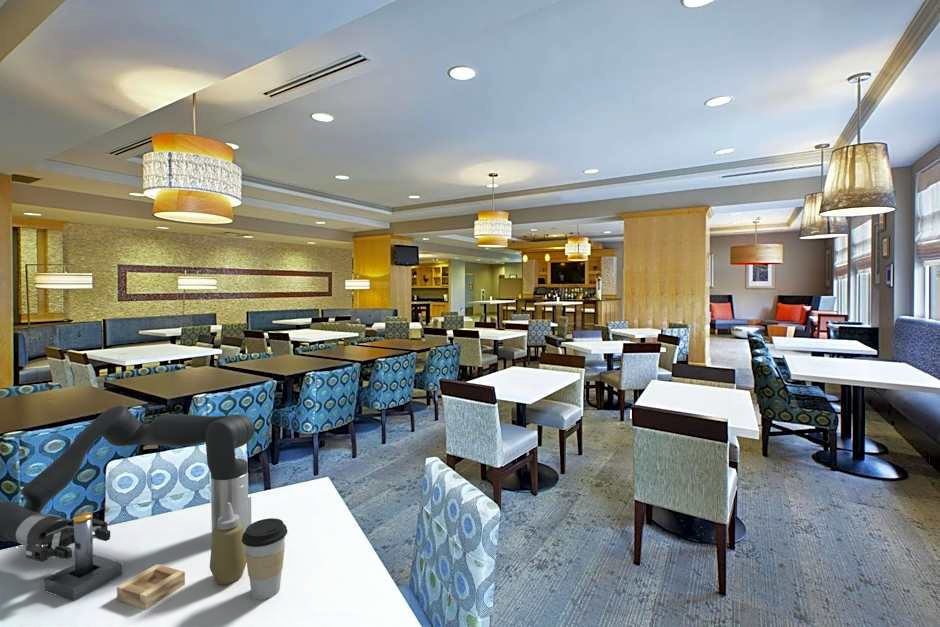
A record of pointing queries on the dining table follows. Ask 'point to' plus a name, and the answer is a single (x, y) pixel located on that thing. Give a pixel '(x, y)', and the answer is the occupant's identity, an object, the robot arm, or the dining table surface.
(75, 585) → the socket block
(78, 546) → the steel rod
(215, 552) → the squeeze bottle
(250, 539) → the coffee cup
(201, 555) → the dining table surface
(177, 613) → the dining table surface
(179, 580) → the oak tray
